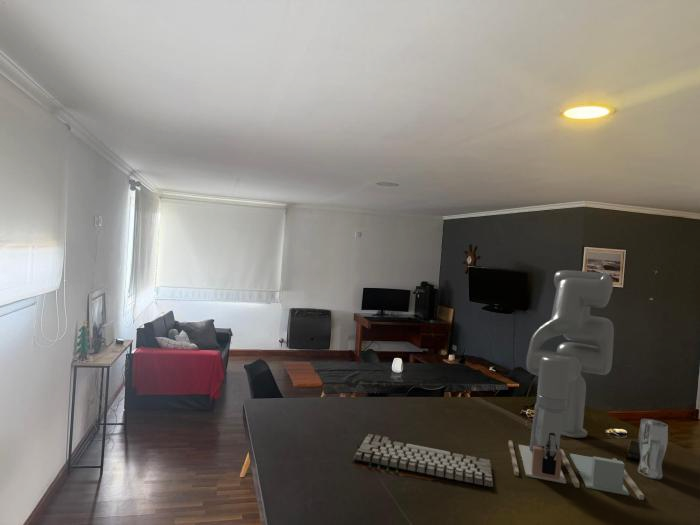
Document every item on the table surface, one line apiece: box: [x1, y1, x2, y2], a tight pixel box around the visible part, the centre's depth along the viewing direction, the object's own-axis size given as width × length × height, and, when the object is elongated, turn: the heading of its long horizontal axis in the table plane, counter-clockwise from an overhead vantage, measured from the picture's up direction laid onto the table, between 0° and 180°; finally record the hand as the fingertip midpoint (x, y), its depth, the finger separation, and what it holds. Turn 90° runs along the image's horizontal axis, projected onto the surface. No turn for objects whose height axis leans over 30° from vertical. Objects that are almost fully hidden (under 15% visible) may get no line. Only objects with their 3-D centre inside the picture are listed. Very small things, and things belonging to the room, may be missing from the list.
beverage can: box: [529, 403, 539, 454], centre depth 140 cm, size 5×5×15 cm
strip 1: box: [518, 444, 567, 484], centre depth 135 cm, size 22×10×8 cm, turn 165°
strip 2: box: [569, 453, 630, 496], centre depth 131 cm, size 22×10×8 cm, turn 165°
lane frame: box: [508, 439, 645, 501], centre depth 133 cm, size 24×31×1 cm
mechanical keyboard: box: [351, 433, 495, 491], centre depth 128 cm, size 38×19×3 cm, turn 76°
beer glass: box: [637, 418, 669, 480], centre depth 134 cm, size 7×7×15 cm
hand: (545, 466), depth 126 cm, fingers open, 7 cm apart
